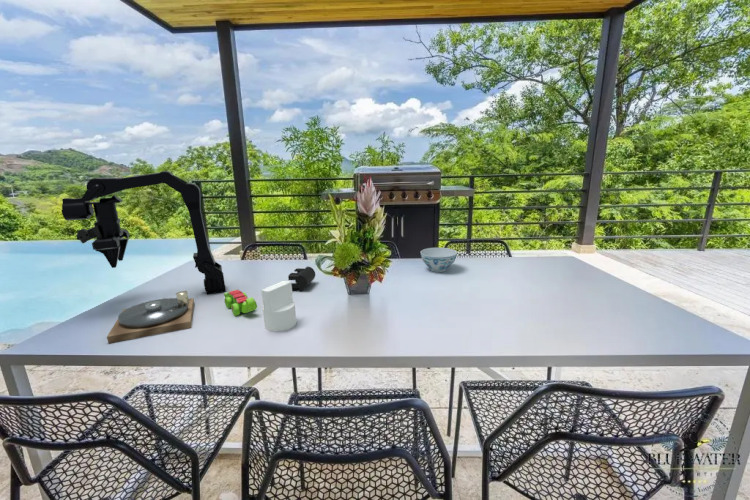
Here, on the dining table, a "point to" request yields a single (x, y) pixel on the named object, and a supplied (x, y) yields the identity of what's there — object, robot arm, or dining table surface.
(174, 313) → the handwheel
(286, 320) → the base with upright slab
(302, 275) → the end cap
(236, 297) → the toy crocodile
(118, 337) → the wheel base
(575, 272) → the dining table surface
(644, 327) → the dining table surface
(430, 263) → the chinaware
